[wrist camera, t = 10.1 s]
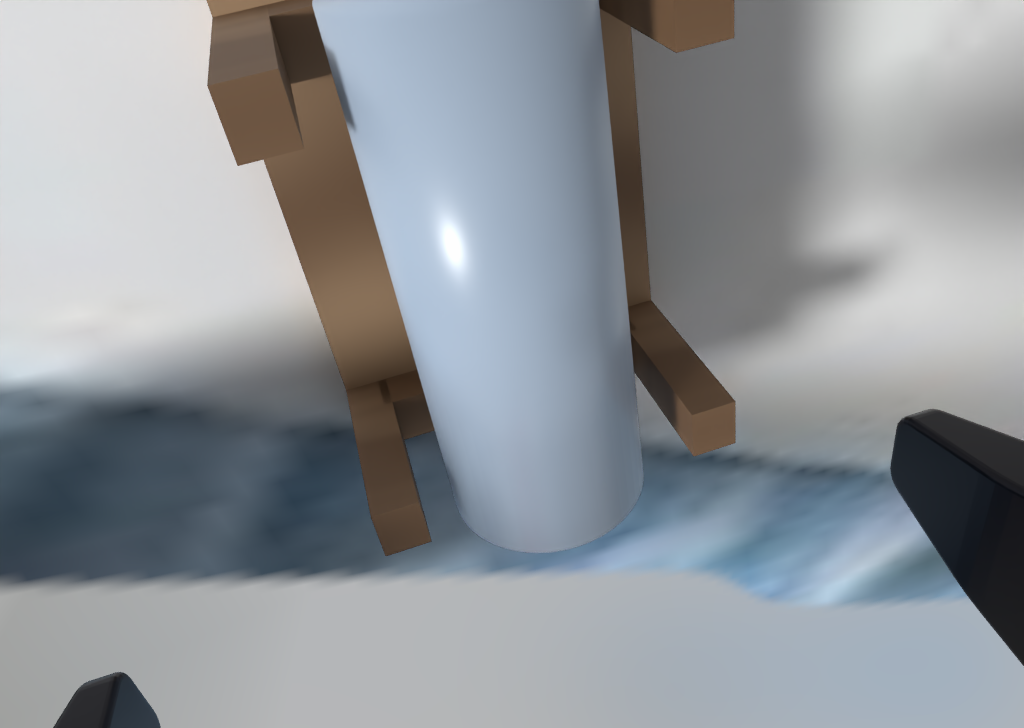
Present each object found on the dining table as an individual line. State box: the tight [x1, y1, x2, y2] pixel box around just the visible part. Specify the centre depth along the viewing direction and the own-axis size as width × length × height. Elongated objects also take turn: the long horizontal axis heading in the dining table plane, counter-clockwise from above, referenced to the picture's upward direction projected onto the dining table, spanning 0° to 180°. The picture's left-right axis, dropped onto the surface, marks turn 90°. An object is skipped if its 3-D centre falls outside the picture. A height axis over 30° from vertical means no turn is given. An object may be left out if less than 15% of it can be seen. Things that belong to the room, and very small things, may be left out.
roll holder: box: [207, 0, 735, 556], centre depth 17 cm, size 11×8×6 cm
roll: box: [312, 0, 644, 553], centre depth 16 cm, size 11×4×4 cm, turn 9°
